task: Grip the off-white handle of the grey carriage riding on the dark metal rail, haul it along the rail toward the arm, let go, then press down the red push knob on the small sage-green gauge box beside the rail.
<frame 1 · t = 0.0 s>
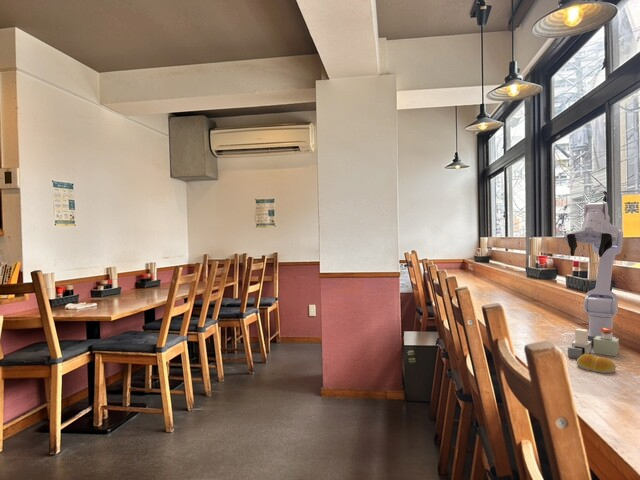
hand: (585, 254, 130), 32 cm above the counter, tool tilted 50°, fingers open, 7 cm apart
rail: (582, 350, 134), on the counter
carriage: (581, 340, 132), point 4 cm above the counter, slide at 9.0 cm
red push knob: (606, 336, 132), point 5 cm above the counter, slide at 0.0 cm
gauge box: (606, 352, 132), on the counter
bread roll: (595, 369, 116), on the counter
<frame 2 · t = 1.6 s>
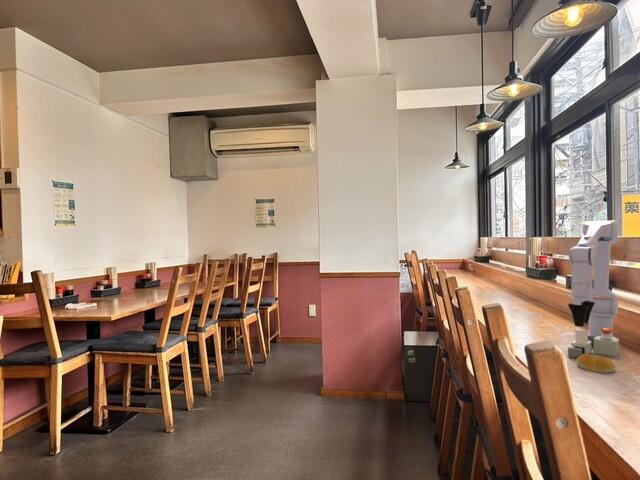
hand: (581, 324, 132), 9 cm above the counter, tool pointing down, fingers open, 7 cm apart
nothing on the counter moved.
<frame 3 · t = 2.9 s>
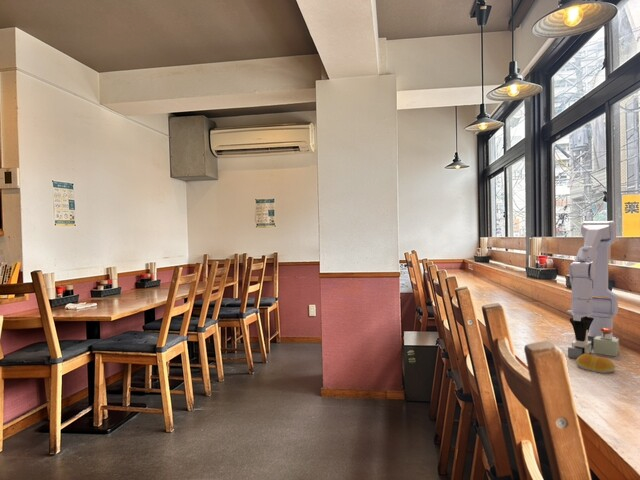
hand: (581, 339, 132), 4 cm above the counter, tool pointing down, fingers closed on carriage, 3 cm apart
carriage: (581, 340, 132), point 4 cm above the counter, slide at 9.0 cm, touching gripper
everything else where it was.
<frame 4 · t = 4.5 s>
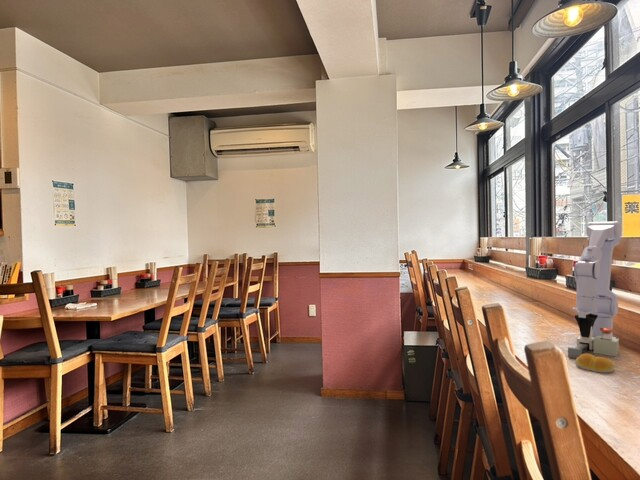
hand: (586, 336, 138), 4 cm above the counter, tool pointing down, fingers closed on carriage, 3 cm apart
carriage: (586, 336, 138), point 4 cm above the counter, slide at 1.5 cm, touching gripper
everything else where it was.
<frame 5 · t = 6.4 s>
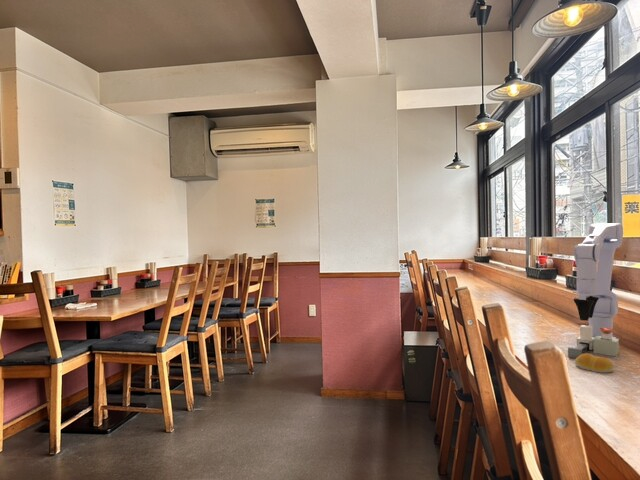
hand: (586, 318, 138), 10 cm above the counter, tool pointing down, fingers open, 6 cm apart
carriage: (586, 336, 138), point 4 cm above the counter, slide at 1.5 cm
everything else where it was.
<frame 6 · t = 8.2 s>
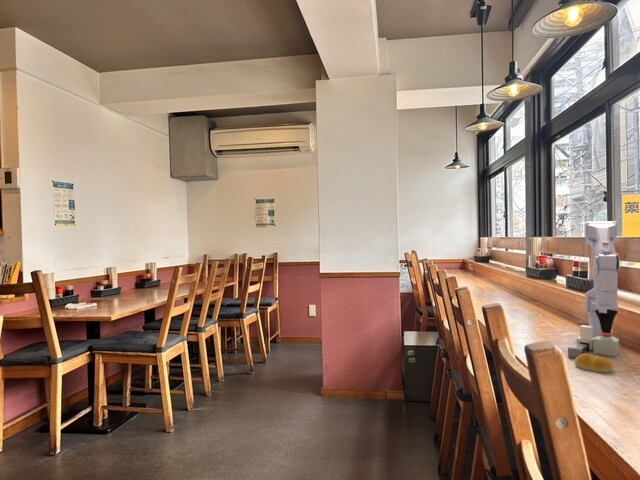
hand: (606, 332, 132), 7 cm above the counter, tool pointing down, fingers closed, pressing on red push knob
red push knob: (606, 340, 132), point 4 cm above the counter, slide at 1.1 cm, touching gripper
everything else where it was.
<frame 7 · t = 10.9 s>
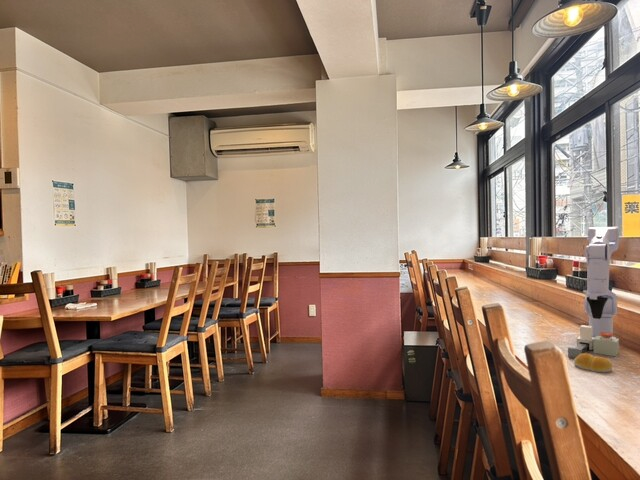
hand: (596, 318, 139), 10 cm above the counter, tool pointing down, fingers closed
red push knob: (606, 341, 132), point 4 cm above the counter, slide at 1.4 cm
everything else where it was.
at the end: carriage slide at 1.5 cm; red push knob slide at 1.4 cm; the gripper is holding nothing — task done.
